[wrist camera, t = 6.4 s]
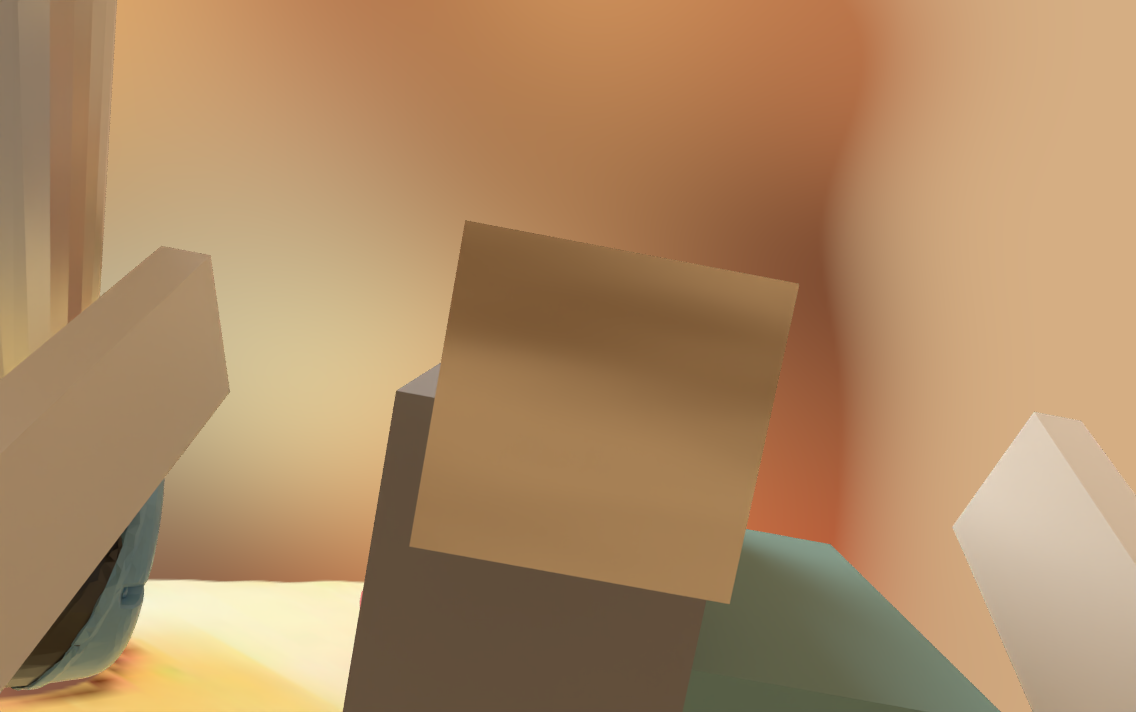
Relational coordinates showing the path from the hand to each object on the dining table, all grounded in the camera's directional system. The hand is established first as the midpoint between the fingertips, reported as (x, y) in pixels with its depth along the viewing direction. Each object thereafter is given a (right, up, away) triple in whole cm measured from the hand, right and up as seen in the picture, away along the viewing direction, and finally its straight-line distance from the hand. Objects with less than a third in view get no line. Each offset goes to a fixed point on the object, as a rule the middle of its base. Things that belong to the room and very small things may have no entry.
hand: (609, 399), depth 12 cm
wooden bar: (-1, -1, +8) cm, 8 cm away
